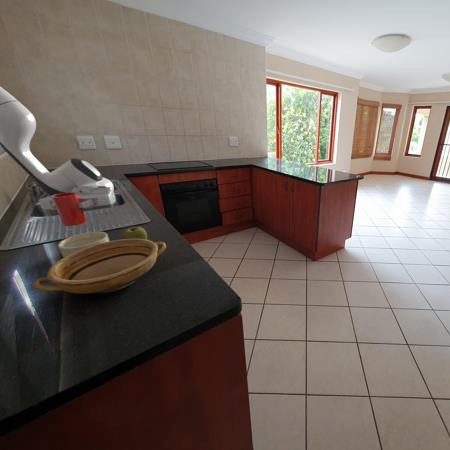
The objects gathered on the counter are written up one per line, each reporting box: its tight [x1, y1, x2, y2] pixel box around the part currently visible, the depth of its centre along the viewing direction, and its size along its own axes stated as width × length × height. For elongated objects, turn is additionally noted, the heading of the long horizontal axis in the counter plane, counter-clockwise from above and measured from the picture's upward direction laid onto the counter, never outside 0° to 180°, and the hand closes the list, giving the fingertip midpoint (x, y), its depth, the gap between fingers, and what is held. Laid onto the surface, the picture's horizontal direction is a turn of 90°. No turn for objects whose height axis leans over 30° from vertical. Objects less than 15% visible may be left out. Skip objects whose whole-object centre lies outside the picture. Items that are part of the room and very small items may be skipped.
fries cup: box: [52, 192, 88, 227], centre depth 79 cm, size 6×6×10 cm
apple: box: [121, 226, 148, 240], centre depth 87 cm, size 8×8×7 cm
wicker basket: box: [33, 238, 167, 295], centre depth 67 cm, size 30×24×8 cm
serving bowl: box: [57, 231, 111, 258], centre depth 84 cm, size 13×13×4 cm
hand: (67, 207), depth 78 cm, fingers closed on fries cup, 6 cm apart
